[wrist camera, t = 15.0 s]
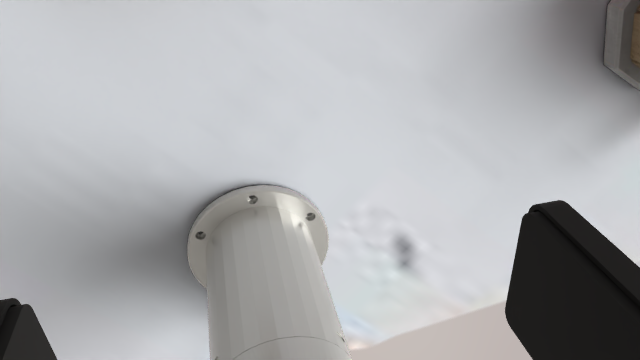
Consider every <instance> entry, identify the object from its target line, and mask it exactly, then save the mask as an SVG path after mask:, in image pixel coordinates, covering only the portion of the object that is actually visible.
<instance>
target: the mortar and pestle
mask: <svg viewBox="0 0 640 360" xmlns="http://www.w3.org/2000/svg"><path fill="white" fill-rule="evenodd" d="M603 65H605V66H606V67H608V68H609V69H610V70H612V71H613V72H614V73H616V74H617V75H619V76H620V77H621V78H623V79H624V80H625V81H627V82H628V83H629V84H631V85H632V86H634V87H635V88H636V89H638V90H639V91H640V0H611V1H610V2H609V4H608V6H607V20H606V35H605V49H604V63H603Z"/></svg>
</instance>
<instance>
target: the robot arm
mask: <svg viewBox="0 0 640 360" xmlns="http://www.w3.org/2000/svg"><path fill="white" fill-rule="evenodd" d="M251 195H253V196H251ZM328 243H329V236H328V231H327V227H326V224H325V221H324V219H323V217H322V215H321V213H320V211H319V210H318V208H317V207H316V206H315V205H314V204H313V203H312V202H311V201H310V200H309V199H307V198H306V197H304V196H303V195H301V194H300V193H297V192H295V191H293V190H290V189H288V188H283V187H279V186H270V185H257V186H249V187H244V188H241V189H237V190H234V191H231V192H229V193H227V194H225V195H223V196H221V197H219V198H218V199H216V200H215V201H213V202H212V203H210V204H209V205H208V206H207V207H206V208H205V209H204V210H203V211H202V212H201V213H200V214H199V216H198V217H197V219H196V220H195V222H194V223H193V225H192V228H191V230H190V233H189V236H188V244H187V258H188V262H189V266H190V269H191V271H192V273H193V275H194V276H195V278H196V279H197V280H198V281H199V283H200V284H201V285H202V286H203V287H205V288H206V289H207V297H208V322H209V348H210V360H352V358H351V355H350V352H349V349H348V346H347V343H346V340H345V337H344V334H343V331H342V327H341V324H340V321H339V318H338V315H337V312H336V309H335V306H334V303H333V300H332V297H331V294H330V291H329V288H328V285H327V282H326V279H325V276H324V273H323V270H322V267H321V266H322V264H323V262H324V260H325V258H326V254H327V251H328ZM505 314H506V318H507V321H508V324H509V325H510V327H511V329H512V330H513V331H514V333H515V334H516V336H517V337H518V339H519V340H520V342H521V343H522V344H523V346H524V347H525V349H526V350H527V352H528V353H529V355H530V356H531V357H532V359H533V360H640V267H638V266H637V265H636V264H635V263H634V262H633V261H632V260H631V259H629V258H628V257H627V256H626V255H625V254H624V253H623V252H622V251H620V250H619V249H618V248H617V247H616V246H615V245H614V244H613V243H611V242H610V241H609V240H608V239H607V238H606V237H605V236H604V235H602V234H601V233H600V232H599V231H598V230H597V229H596V228H595V227H593V226H592V225H591V224H590V223H589V222H588V221H587V220H586V219H584V218H583V217H582V216H581V215H580V214H579V213H578V212H577V211H576V210H574V209H573V208H572V207H571V206H570V205H569V204H568V203H566V202H564V201H561V200H558V201H552V202H547V203H541V204H536V205H533V206H532V207H531V208H530V209H529V212H528V213H527V214H525V215H524V216H523V218H522V222H521V227H520V233H519V238H518V243H517V249H516V254H515V259H514V264H513V270H512V275H511V280H510V286H509V291H508V296H507V301H506V307H505ZM0 360H57V358H56V356H55V354H54V352H53V350H52V348H51V346H50V344H49V342H48V340H47V337H46V335H45V333H44V331H43V329H42V327H41V325H40V323H39V321H38V319H37V317H36V315H35V313H34V311H33V309H32V307H31V306H30V305H29V304H24V305H21V304H20V302H19V301H18V300H17V299H15V298H10V299H5V300H0Z"/></svg>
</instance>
